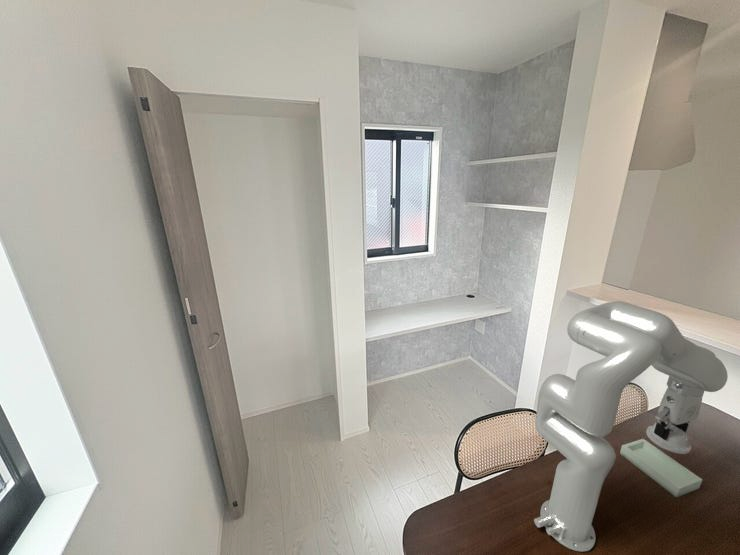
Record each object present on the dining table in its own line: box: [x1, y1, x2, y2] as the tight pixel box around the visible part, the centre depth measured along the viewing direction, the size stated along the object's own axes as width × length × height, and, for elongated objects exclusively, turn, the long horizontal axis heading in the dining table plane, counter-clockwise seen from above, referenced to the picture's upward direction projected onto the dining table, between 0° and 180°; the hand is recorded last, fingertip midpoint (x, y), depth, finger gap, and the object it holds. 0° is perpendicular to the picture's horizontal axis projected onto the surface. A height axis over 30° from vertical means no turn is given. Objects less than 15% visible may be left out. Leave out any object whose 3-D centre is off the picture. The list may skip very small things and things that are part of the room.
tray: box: [619, 438, 703, 498], centre depth 96 cm, size 10×16×4 cm, turn 15°
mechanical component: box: [645, 421, 692, 455], centre depth 92 cm, size 10×4×10 cm
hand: (669, 433), depth 92 cm, fingers closed on mechanical component, 7 cm apart
